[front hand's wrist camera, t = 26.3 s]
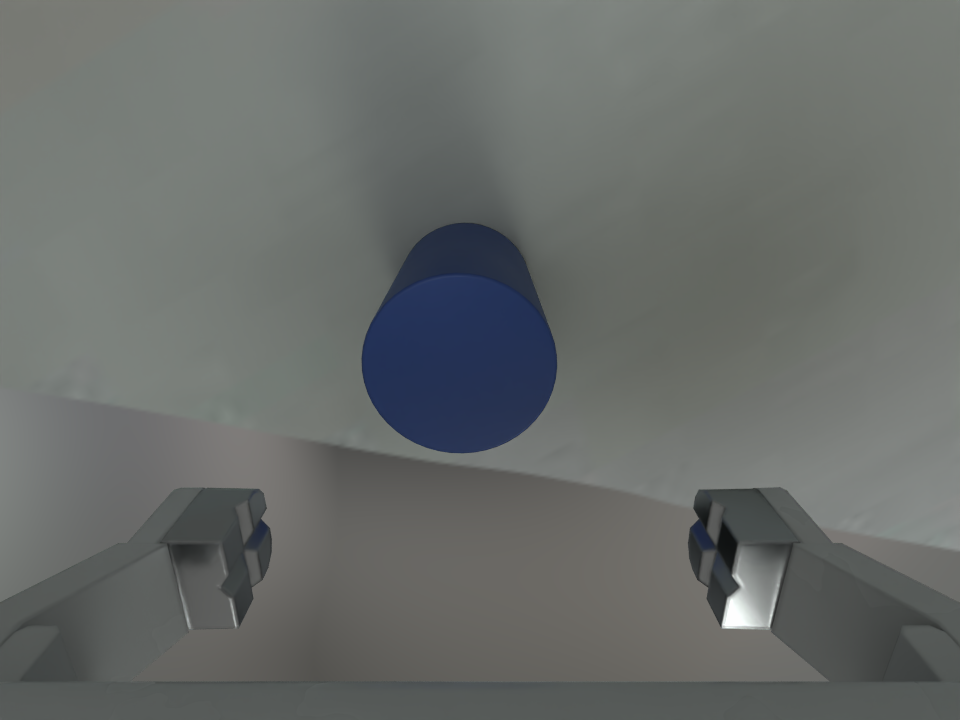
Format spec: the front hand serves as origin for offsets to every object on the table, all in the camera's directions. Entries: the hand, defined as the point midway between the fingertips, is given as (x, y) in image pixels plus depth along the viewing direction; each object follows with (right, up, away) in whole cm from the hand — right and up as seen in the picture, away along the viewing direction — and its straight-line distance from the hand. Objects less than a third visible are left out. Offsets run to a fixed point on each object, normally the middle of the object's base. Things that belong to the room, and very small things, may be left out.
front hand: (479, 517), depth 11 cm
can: (-1, +6, +13) cm, 15 cm away
